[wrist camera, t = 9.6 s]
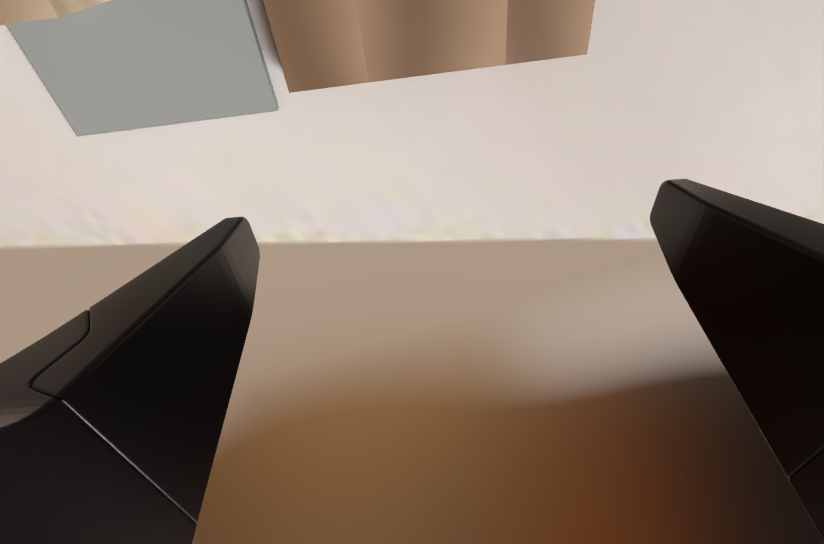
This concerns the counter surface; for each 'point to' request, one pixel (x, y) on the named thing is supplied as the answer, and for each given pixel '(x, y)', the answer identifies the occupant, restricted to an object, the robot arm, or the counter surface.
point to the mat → (149, 63)
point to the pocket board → (419, 36)
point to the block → (40, 9)
